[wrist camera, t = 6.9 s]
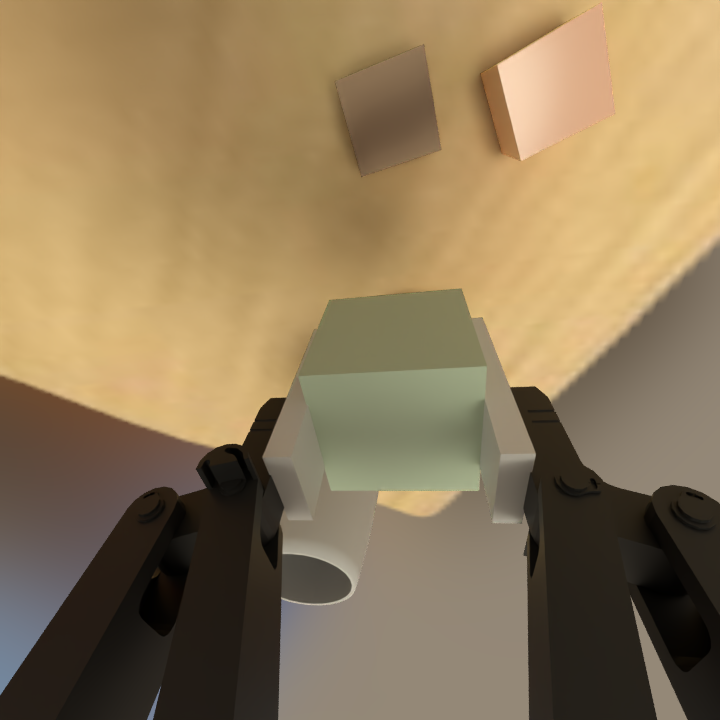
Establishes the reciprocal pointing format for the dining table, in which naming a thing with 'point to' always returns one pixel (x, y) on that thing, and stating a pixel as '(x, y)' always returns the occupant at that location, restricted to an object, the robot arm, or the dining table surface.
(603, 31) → the terracotta cube
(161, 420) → the dining table surface
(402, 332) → the sage cube
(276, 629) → the robot arm
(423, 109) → the walnut cube
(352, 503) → the wineglass
